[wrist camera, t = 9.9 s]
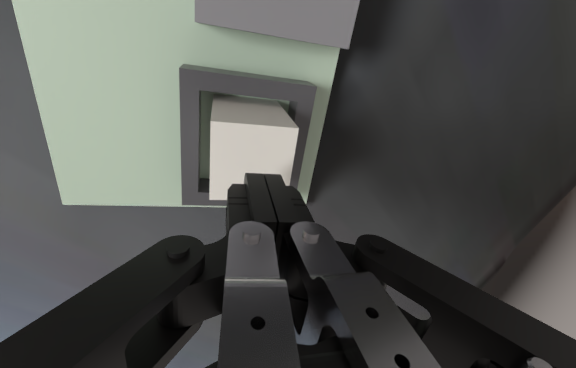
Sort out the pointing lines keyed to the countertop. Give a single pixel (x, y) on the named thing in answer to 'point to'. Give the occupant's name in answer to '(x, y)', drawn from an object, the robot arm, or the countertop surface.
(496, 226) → the countertop surface
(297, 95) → the header socket
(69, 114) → the circuit board
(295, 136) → the plug
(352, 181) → the countertop surface
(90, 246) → the countertop surface
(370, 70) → the countertop surface
